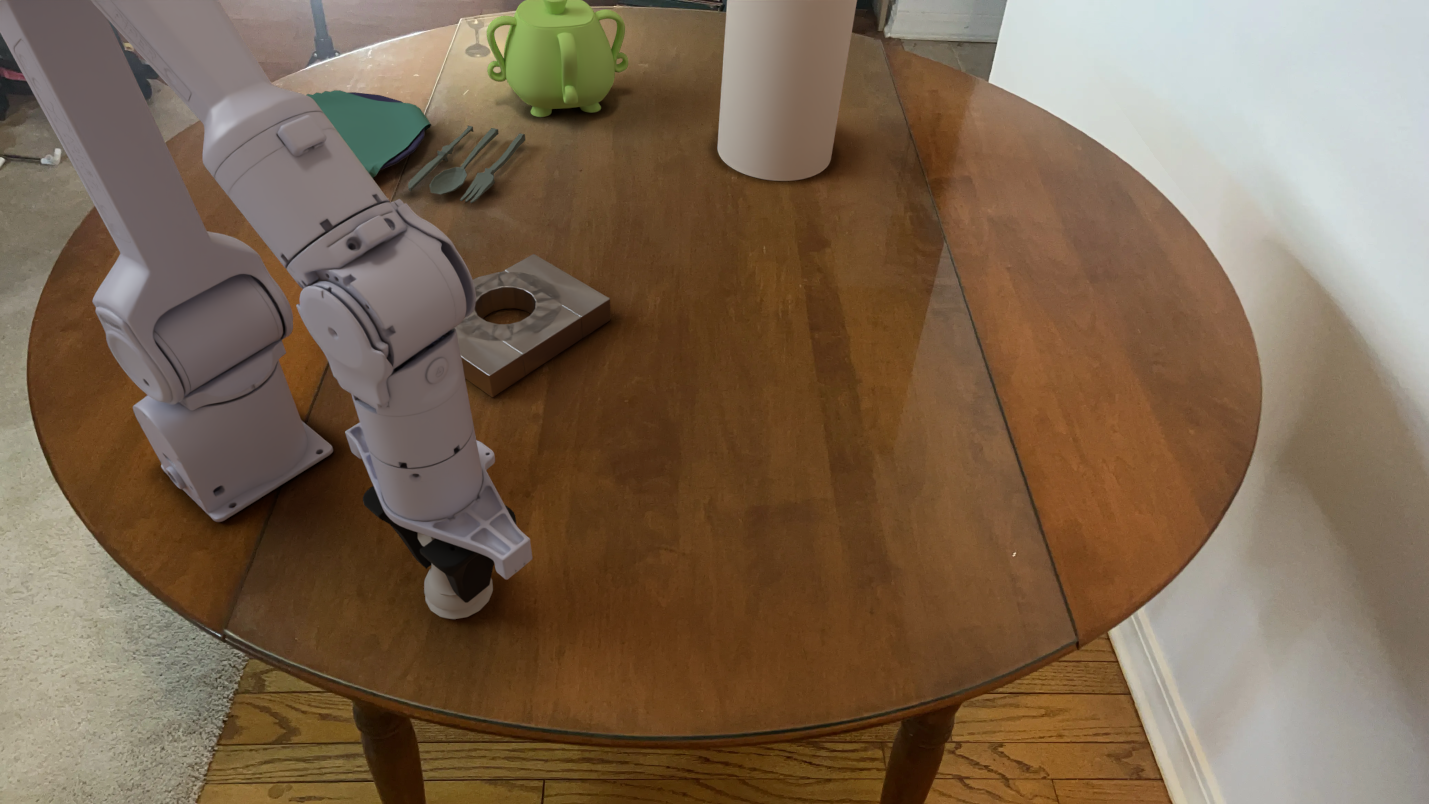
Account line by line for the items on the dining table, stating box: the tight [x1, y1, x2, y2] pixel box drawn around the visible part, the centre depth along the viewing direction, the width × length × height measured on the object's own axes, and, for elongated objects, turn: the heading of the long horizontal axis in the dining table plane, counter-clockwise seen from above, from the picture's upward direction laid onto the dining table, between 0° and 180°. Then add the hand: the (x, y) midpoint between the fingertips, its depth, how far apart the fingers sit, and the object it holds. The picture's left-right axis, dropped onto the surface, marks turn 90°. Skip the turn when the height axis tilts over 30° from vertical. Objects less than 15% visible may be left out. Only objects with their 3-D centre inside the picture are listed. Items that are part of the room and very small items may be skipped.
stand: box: [454, 253, 612, 398], centre depth 80 cm, size 14×11×2 cm
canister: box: [716, 0, 858, 182], centre depth 100 cm, size 14×14×20 cm
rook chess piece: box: [418, 533, 494, 620], centre depth 58 cm, size 4×4×8 cm
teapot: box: [486, 0, 629, 118], centre depth 109 cm, size 16×14×13 cm
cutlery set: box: [306, 89, 526, 204], centre depth 100 cm, size 20×30×2 cm, turn 75°
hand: (455, 573), depth 59 cm, fingers closed on rook chess piece, 3 cm apart
